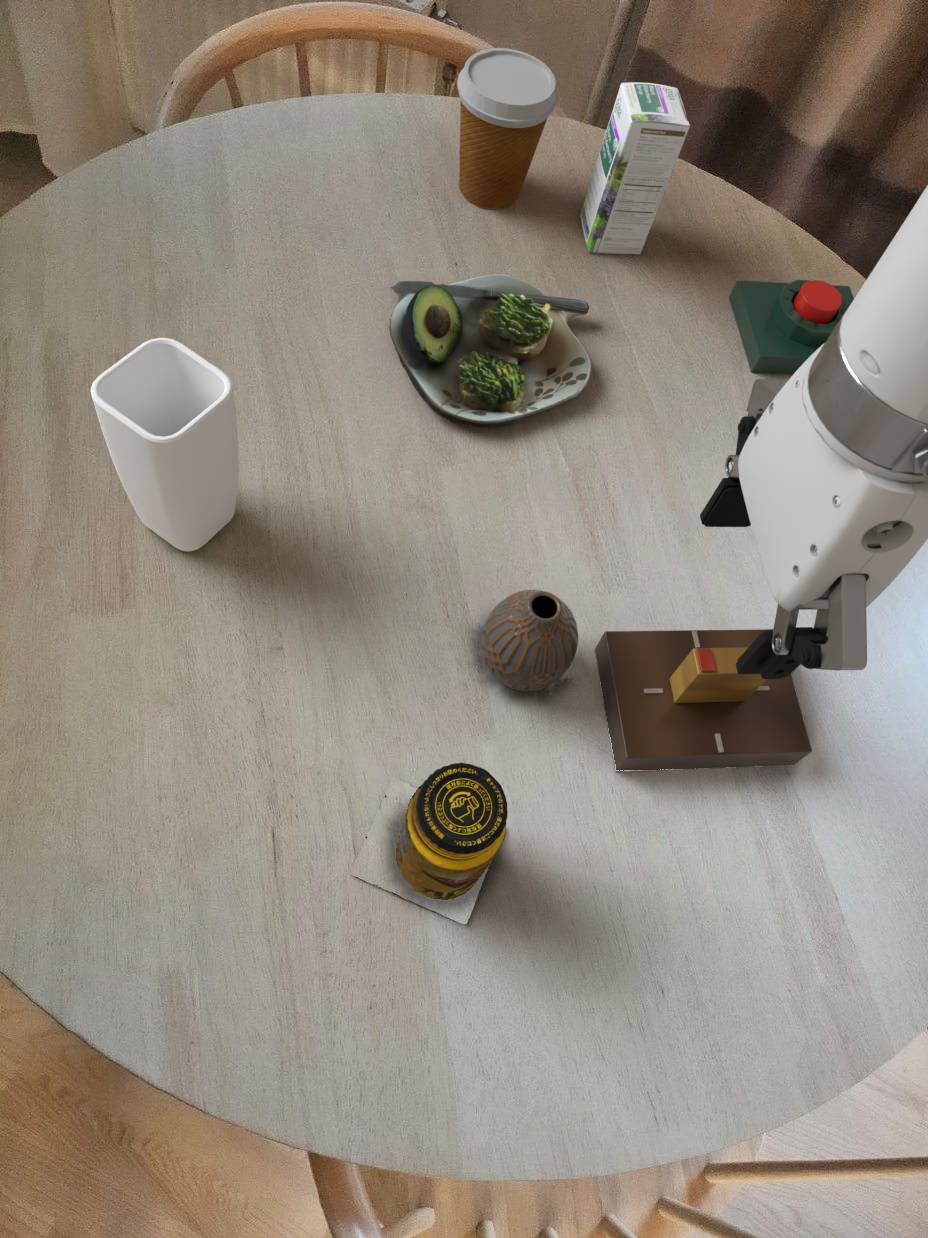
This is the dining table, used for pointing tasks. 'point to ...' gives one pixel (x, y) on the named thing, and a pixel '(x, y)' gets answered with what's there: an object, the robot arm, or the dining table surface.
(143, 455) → the cup
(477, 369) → the avocado toast plate
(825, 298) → the round red push button
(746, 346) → the green button box
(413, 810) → the condiment
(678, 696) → the thumbturn
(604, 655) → the plate
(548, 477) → the dining table surface
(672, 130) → the syrup box
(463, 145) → the disposable coffee cup
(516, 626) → the vase
